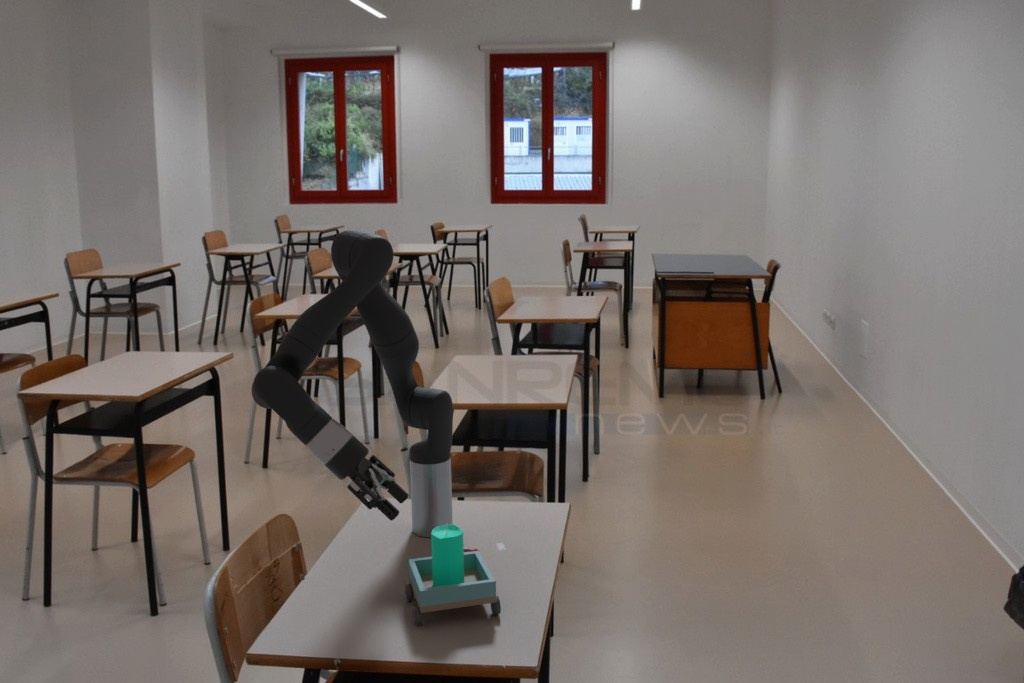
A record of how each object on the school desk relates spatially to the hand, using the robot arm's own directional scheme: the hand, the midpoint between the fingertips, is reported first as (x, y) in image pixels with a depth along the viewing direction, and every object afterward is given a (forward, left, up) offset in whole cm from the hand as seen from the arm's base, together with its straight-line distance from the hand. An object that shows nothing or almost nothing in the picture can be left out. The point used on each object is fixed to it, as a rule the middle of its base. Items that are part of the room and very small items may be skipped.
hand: (400, 508), depth 176 cm
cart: (+3, +9, -20) cm, 22 cm away
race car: (-12, +13, -20) cm, 27 cm away
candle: (+2, +8, -15) cm, 18 cm away
